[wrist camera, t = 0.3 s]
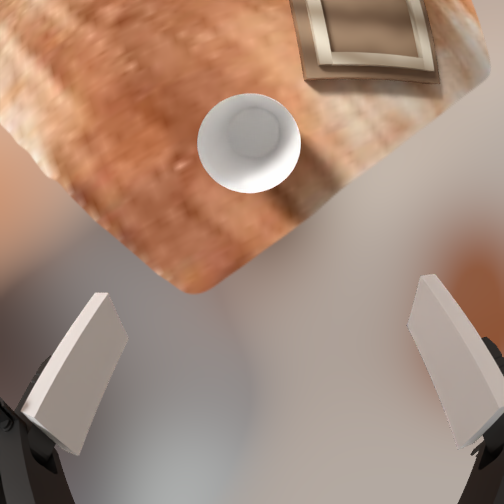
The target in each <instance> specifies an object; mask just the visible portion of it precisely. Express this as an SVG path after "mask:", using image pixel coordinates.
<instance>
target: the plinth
mask: <svg viewBox="0 0 504 504" xmlns="http://www.w3.org/2000/svg"><path fill="white" fill-rule="evenodd" d="M289 3H290V7H291V12H292V16H293V21H294V26H295V31H296V36H297V42H298V47H299V53H300V59H301V64H302V71H303V77H304V81H305V80H323V79H376V80H395V81H407V82H417V83H426V84H440V80H439V72H438V65H437V59H436V53H435V47H434V42H433V37H432V32H431V28H430V23H429V19H428V15H427V12H426V8H425V4H424V1H423V0H289Z"/></svg>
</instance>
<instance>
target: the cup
mask: <svg viewBox="0 0 504 504" xmlns="http://www.w3.org/2000/svg"><path fill="white" fill-rule="evenodd" d="M197 147H198V153H199V157H200V160H201V163H202V165H203V167H204V168H205V170H206V171H207V173H208V174H209V175H210V176H211V177H212V178H213V179H214V180H215V181H216V182H217V183H219V184H220V185H222V186H224V187H226V188H228V189H230V190H233V191H237V192H242V193H257V192H262V191H266V190H268V189H271V188H273V187H275V186H277V185H278V184H280V183H281V182H282V181H284V180H285V179H286V178H287V177H288V176H289V175H290V173H291V172H292V171H293V169H294V167H295V165H296V163H297V161H298V158H299V155H300V149H301V138H300V133H299V129H298V126H297V124H296V122H295V120H294V118H293V117H292V115H291V114H290V112H289V111H288V110H287V109H286V108H285V107H284V106H283V105H282V104H281V103H279V102H278V101H276V100H274V99H272V98H270V97H268V96H264V95H260V94H240V95H235V96H232V97H229V98H227V99H225V100H223V101H221V102H220V103H218V104H217V105H216V106H214V107H213V108H212V109H211V110H210V111H209V113H208V114H207V115H206V117H205V118H204V120H203V122H202V124H201V126H200V129H199V133H198V140H197Z"/></svg>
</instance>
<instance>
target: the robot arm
mask: <svg viewBox="0 0 504 504" xmlns="http://www.w3.org/2000/svg"><path fill="white" fill-rule="evenodd" d="M407 327H408V329H409V331H410V333H411V336H412V338H413V340H414V342H415V344H416V346H417V348H418V350H419V352H420V355H421V357H422V359H423V361H424V363H425V366H426V368H427V370H428V372H429V375H430V377H431V379H432V382H433V384H434V387H435V389H436V391H437V394H438V396H439V399H440V401H441V404H442V407H443V409H444V412H445V414H446V417H447V420H448V423H449V426H450V428H451V431H452V434H453V437H454V440H455V443H456V446H457V449H458V450H459V449H461V448H464V447H466V446H468V445H470V444H473V443H474V442H475V441H476V440H477V439H479V438H480V437H481V436H482V435H483V437H484V441H483V442H482V443H480V444H479V445H478V446H477V447H476V448H475V449H474V450H473V451H472V453H471V455H474V454H475V453H476V452H477V451H479V452H478V454H477V455H476V457H477V458H476V461H475V464H474V466H473V469H472V472H471V474H470V477H469V479H468V482H467V484H466V486H465V489H464V491H463V493H462V496H461V498H460V500H459V502H458V504H504V357H502V354H501V352H500V351H499V349H498V348H497V346H496V345H495V344H494V343H493V342H492V341H491V340H490V339H488V338H487V337H484V338H480V336H479V335H478V333H477V331H476V330H475V328H474V327H473V325H472V324H471V322H470V321H469V319H468V318H467V317H466V315H465V314H464V312H463V311H462V309H461V308H460V307H459V305H458V304H457V302H456V301H455V300H454V298H453V297H452V296H451V294H450V293H449V292H448V290H447V289H446V288H445V287H444V285H443V284H442V282H441V281H440V280H439V279H438V277H437V276H436V275H435V274H431V275H422V276H420V279H419V284H418V287H417V291H416V295H415V299H414V302H413V306H412V310H411V313H410V316H409V319H408V323H407ZM127 341H128V336H127V334H126V332H125V329H124V327H123V325H122V323H121V321H120V319H119V316H118V314H117V312H116V310H115V307H114V305H113V303H112V300H111V298H110V296H109V293H95V294H94V295H93V296H92V298H91V299H90V301H89V302H88V303H87V305H86V306H85V308H84V309H83V310H82V312H81V313H80V315H79V316H78V317H77V319H76V320H75V322H74V323H73V325H72V326H71V328H70V329H69V331H68V332H67V334H66V335H65V337H64V338H63V340H62V341H61V343H60V344H59V346H58V348H57V349H56V351H55V352H54V354H53V355H52V356H49V357H48V358H47V359H46V360H45V361H44V362H43V363H42V364H41V366H40V367H39V369H38V371H37V373H36V375H35V376H34V377H33V379H32V383H30V384H29V386H28V388H27V389H26V391H25V393H24V395H23V397H22V398H21V400H20V402H19V404H18V406H17V407H16V409H15V411H13V410H12V409H11V408H10V407H9V406H8V405H7V404H6V403H5V402H4V401H3V400H2V398H0V504H75V502H74V500H73V497H72V495H71V492H70V489H69V486H68V484H67V481H66V478H65V475H64V472H63V469H62V466H61V462H60V459H59V455H58V453H57V451H56V449H55V448H54V446H55V444H57V445H58V446H59V447H60V448H62V449H63V450H64V451H67V452H69V453H72V454H74V455H77V456H79V454H80V451H81V449H82V446H83V443H84V441H85V438H86V435H87V433H88V430H89V428H90V425H91V423H92V420H93V418H94V415H95V413H96V410H97V408H98V406H99V403H100V401H101V399H102V396H103V394H104V391H105V389H106V387H107V385H108V382H109V380H110V378H111V376H112V373H113V371H114V369H115V367H116V365H117V362H118V360H119V358H120V356H121V354H122V352H123V350H124V348H125V345H126V343H127Z"/></svg>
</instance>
